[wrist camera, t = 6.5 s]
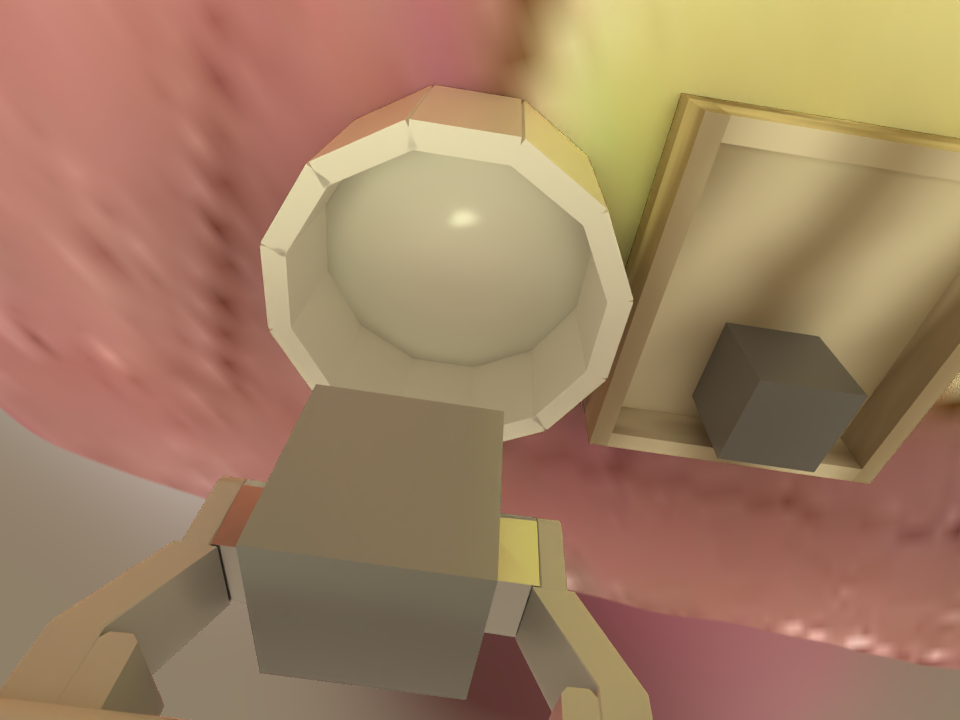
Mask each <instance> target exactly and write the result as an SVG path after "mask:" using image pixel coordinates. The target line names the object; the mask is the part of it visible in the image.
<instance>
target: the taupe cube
mask: <svg viewBox="0 0 960 720" xmlns="http://www.w3.org/2000/svg"><path fill="white" fill-rule="evenodd" d="M503 427H504V411H499V410H492V409H485V408H478V407H471V406H464V405H457V404H450V403H443V402H436V401H430V400H423V399H416V398H409V397H402V396H395V395H388V394H381V393H374V392H367V391H361V390H354V389H347V388H340V387H333V386H326V385H319V384H316V385H315V387H314V389H313V391H312V393H311V395H310V397H309V399H308V401H307V403H306V405H305V407H304V409H303V411H302V413H301V415H300V417H299V419H298V421H297V423H296V425H295V427H294V429H293V431H292V433H291V435H290V437H289V439H288V441H287V443H286V445H285V447H284V449H283V451H282V453H281V455H280V457H279V459H278V461H277V463H276V465H275V467H274V469H273V471H272V473H271V475H270V477H269V479H268V481H267V483H266V485H265V487H264V489H263V491H262V493H261V495H260V497H259V499H258V501H257V503H256V505H255V507H254V509H253V511H252V513H251V515H250V517H249V519H248V521H247V523H246V525H245V527H244V529H243V531H242V533H241V535H240V537H239V539H238V541H237V543H236V550H237V556H238V561H239V566H240V571H241V576H242V582H243V587H244V592H245V597H246V603H247V608H248V612H249V618H250V623H251V629H252V634H253V639H254V644H255V650H256V655H257V660H258V665H259V671H260V673H263V674H270V675H278V676H286V677H294V678H302V679H309V680H317V681H325V682H333V683H341V684H349V685H357V686H364V687H372V688H379V689H388V690H395V691H403V692H410V693H418V694H426V695H433V696H442V697H449V698H457V699H464V700H466V697H467V694H468V690H469V686H470V682H471V679H472V675H473V671H474V667H475V664H476V660H477V656H478V653H479V649H480V645H481V641H482V638H483V634H484V630H485V627H486V623H487V619H488V615H489V612H490V608H491V604H492V600H493V597H494V593H495V589H496V586H497V582H498V561H499V534H500V507H501V480H502V453H503Z"/></svg>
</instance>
